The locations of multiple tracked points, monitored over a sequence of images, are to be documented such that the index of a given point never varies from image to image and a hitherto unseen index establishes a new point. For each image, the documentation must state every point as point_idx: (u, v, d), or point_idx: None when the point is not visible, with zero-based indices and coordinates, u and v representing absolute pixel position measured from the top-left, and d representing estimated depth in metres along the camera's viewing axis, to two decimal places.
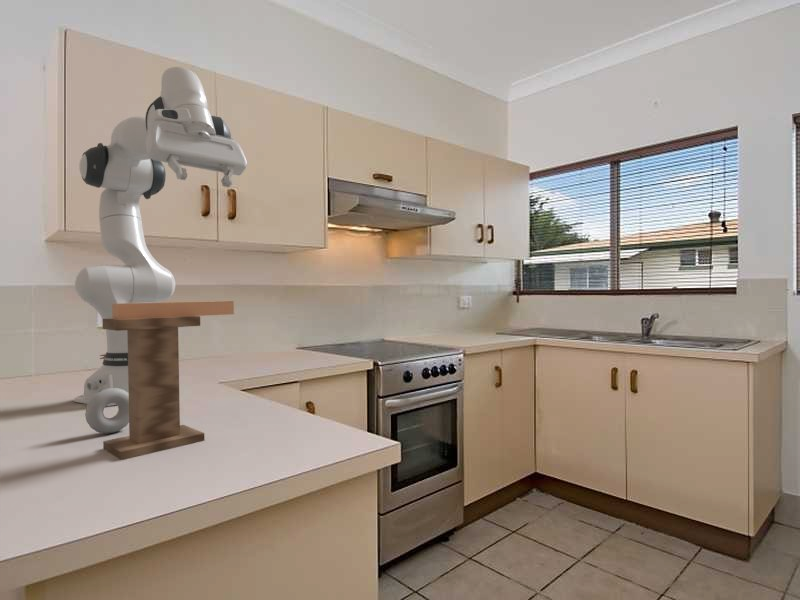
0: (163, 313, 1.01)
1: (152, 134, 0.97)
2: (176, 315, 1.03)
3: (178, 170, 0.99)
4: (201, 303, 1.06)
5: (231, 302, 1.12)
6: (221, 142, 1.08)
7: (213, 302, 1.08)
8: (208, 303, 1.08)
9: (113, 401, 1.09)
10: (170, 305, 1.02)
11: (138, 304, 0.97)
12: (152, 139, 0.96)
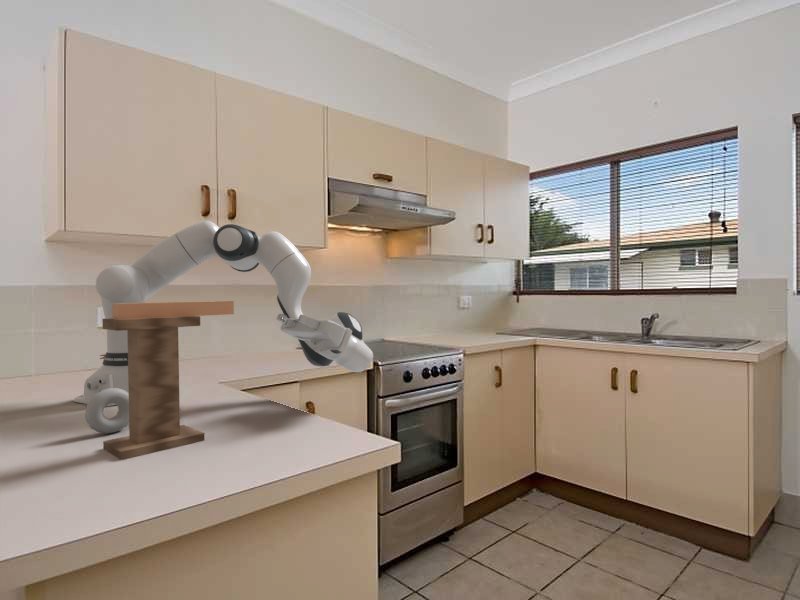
0: (163, 313, 1.01)
1: (332, 339, 1.23)
2: (176, 315, 1.03)
3: (305, 321, 1.22)
4: (201, 303, 1.06)
5: (231, 302, 1.12)
6: (304, 339, 1.34)
7: (213, 302, 1.08)
8: (208, 303, 1.08)
9: (113, 401, 1.09)
10: (170, 305, 1.02)
11: (138, 304, 0.97)
12: (330, 336, 1.22)
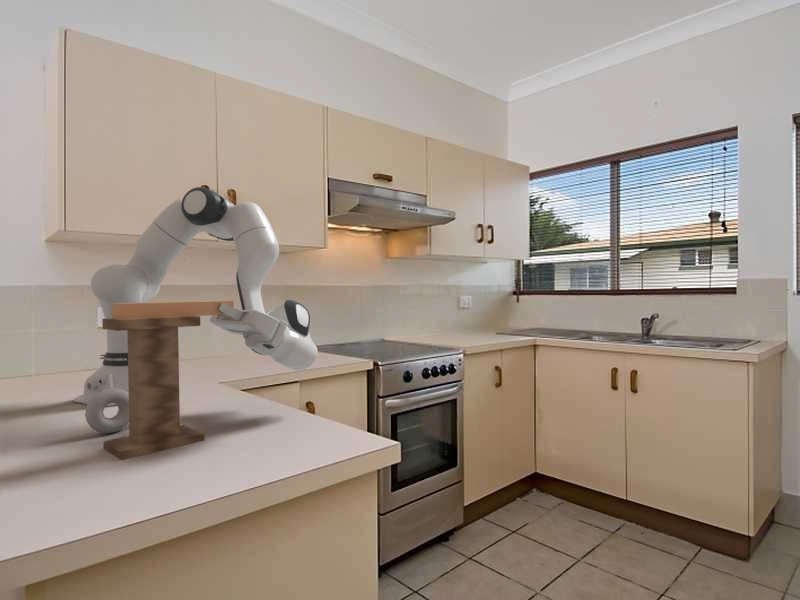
0: (163, 313, 1.01)
1: (262, 332, 1.08)
2: (176, 315, 1.03)
3: (224, 311, 1.09)
4: (201, 303, 1.06)
5: (231, 302, 1.12)
6: (237, 332, 1.20)
7: (213, 302, 1.08)
8: (208, 303, 1.08)
9: (113, 401, 1.09)
10: (170, 305, 1.02)
11: (138, 304, 0.97)
12: (258, 329, 1.07)
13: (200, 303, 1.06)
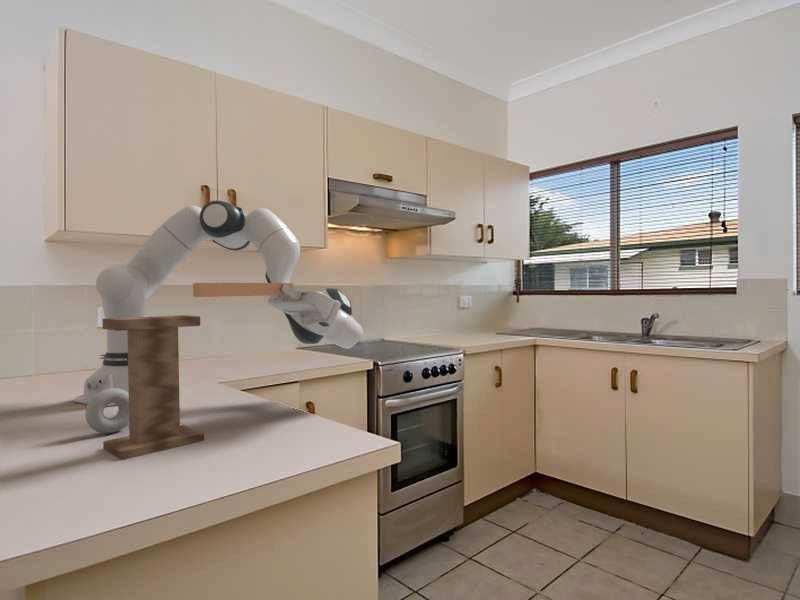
0: (236, 292, 1.12)
1: (320, 310, 1.20)
2: (246, 294, 1.14)
3: (286, 291, 1.21)
4: (266, 284, 1.18)
5: (291, 284, 1.23)
6: (292, 312, 1.31)
7: (276, 283, 1.20)
8: (272, 284, 1.19)
9: (113, 401, 1.09)
10: (241, 285, 1.13)
11: (216, 284, 1.09)
12: (317, 307, 1.19)
13: (265, 284, 1.18)
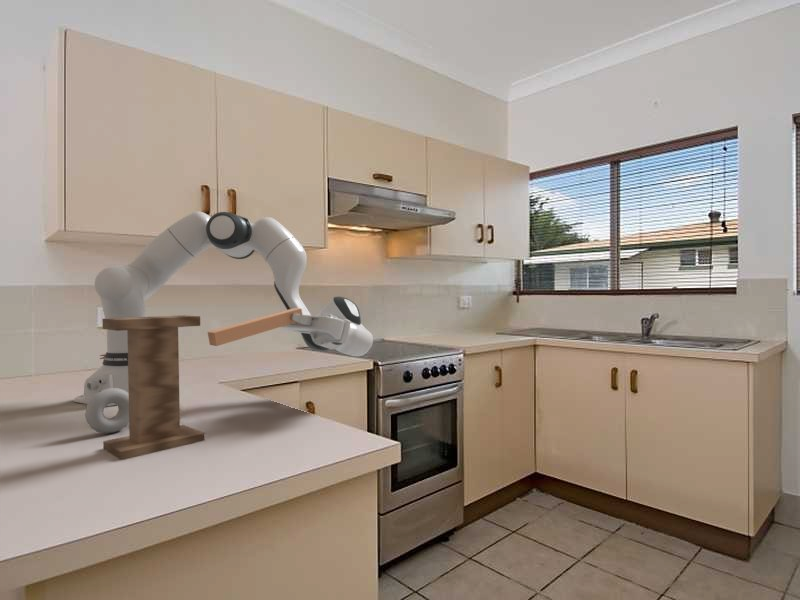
0: (250, 332, 1.14)
1: (333, 334, 1.22)
2: (260, 331, 1.16)
3: (297, 319, 1.22)
4: (277, 316, 1.20)
5: (300, 310, 1.25)
6: (303, 332, 1.34)
7: (286, 313, 1.22)
8: (282, 315, 1.21)
9: (113, 401, 1.09)
10: (254, 324, 1.15)
11: (230, 329, 1.10)
12: (330, 332, 1.22)
13: (276, 317, 1.19)
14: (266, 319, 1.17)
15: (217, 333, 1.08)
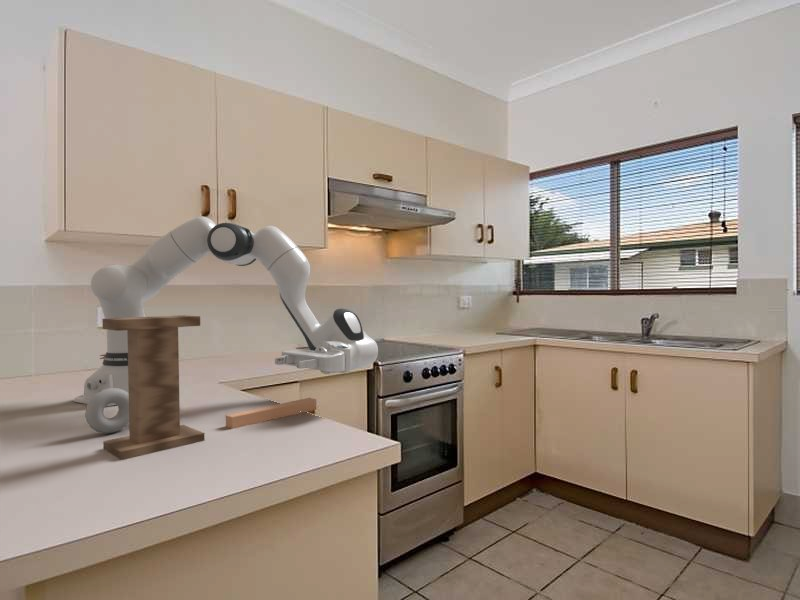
0: (265, 419, 1.19)
1: (336, 371, 1.24)
2: None
3: (304, 366, 1.22)
4: (292, 405, 1.24)
5: (314, 400, 1.30)
6: None
7: (301, 403, 1.26)
8: (297, 404, 1.26)
9: (113, 401, 1.09)
10: (270, 411, 1.20)
11: (247, 415, 1.15)
12: (333, 371, 1.23)
13: (291, 405, 1.24)
14: (282, 407, 1.22)
15: (235, 418, 1.13)
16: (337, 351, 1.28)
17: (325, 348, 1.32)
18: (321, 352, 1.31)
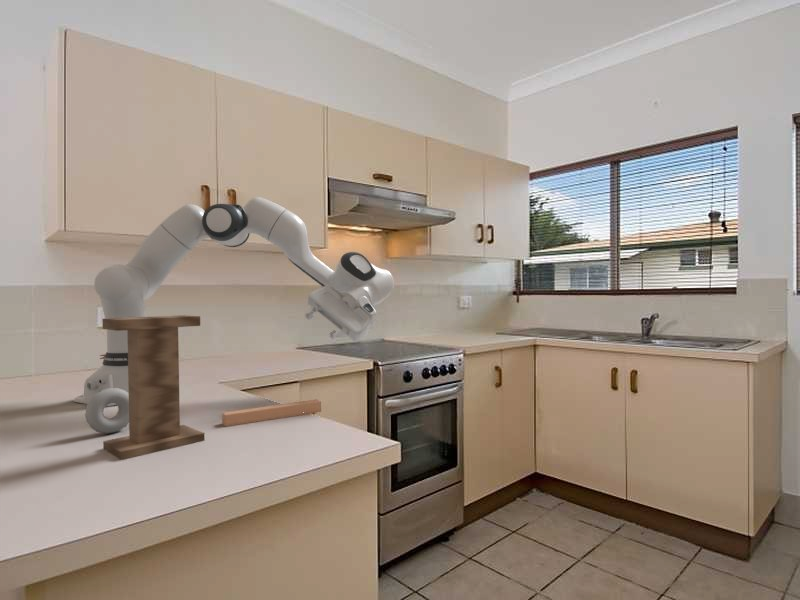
0: (262, 418, 1.19)
1: None
2: None
3: (336, 337, 1.35)
4: (293, 406, 1.23)
5: (319, 402, 1.27)
6: None
7: (303, 404, 1.25)
8: (299, 406, 1.24)
9: (113, 401, 1.09)
10: (268, 411, 1.20)
11: (242, 413, 1.16)
12: None
13: (292, 406, 1.23)
14: (281, 408, 1.22)
15: (228, 416, 1.15)
16: (364, 315, 1.39)
17: (351, 303, 1.40)
18: (347, 306, 1.41)
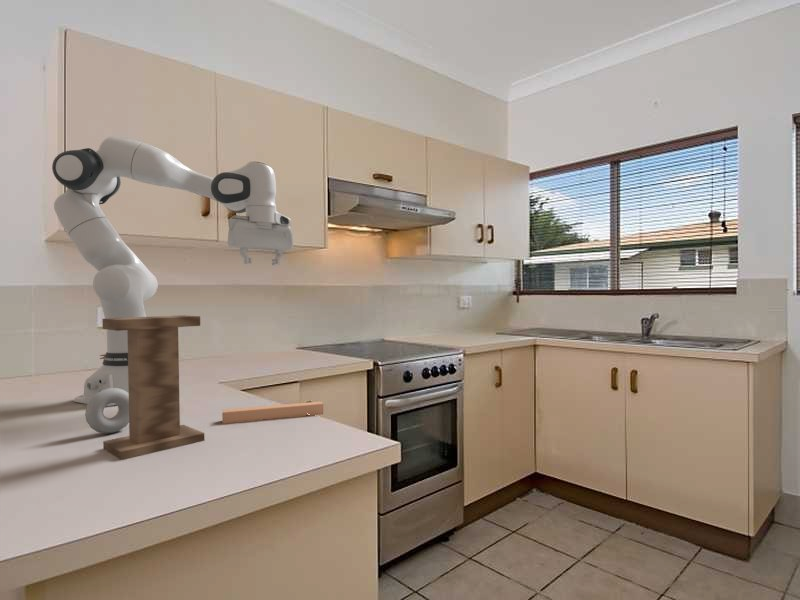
0: (260, 418, 1.20)
1: None
2: None
3: None
4: (293, 407, 1.22)
5: (321, 405, 1.25)
6: None
7: (304, 406, 1.23)
8: (299, 407, 1.23)
9: (113, 401, 1.09)
10: (266, 411, 1.20)
11: (239, 412, 1.18)
12: None
13: (292, 408, 1.22)
14: (280, 408, 1.21)
15: (225, 413, 1.17)
16: (285, 229, 1.50)
17: (270, 226, 1.46)
18: (267, 229, 1.46)
